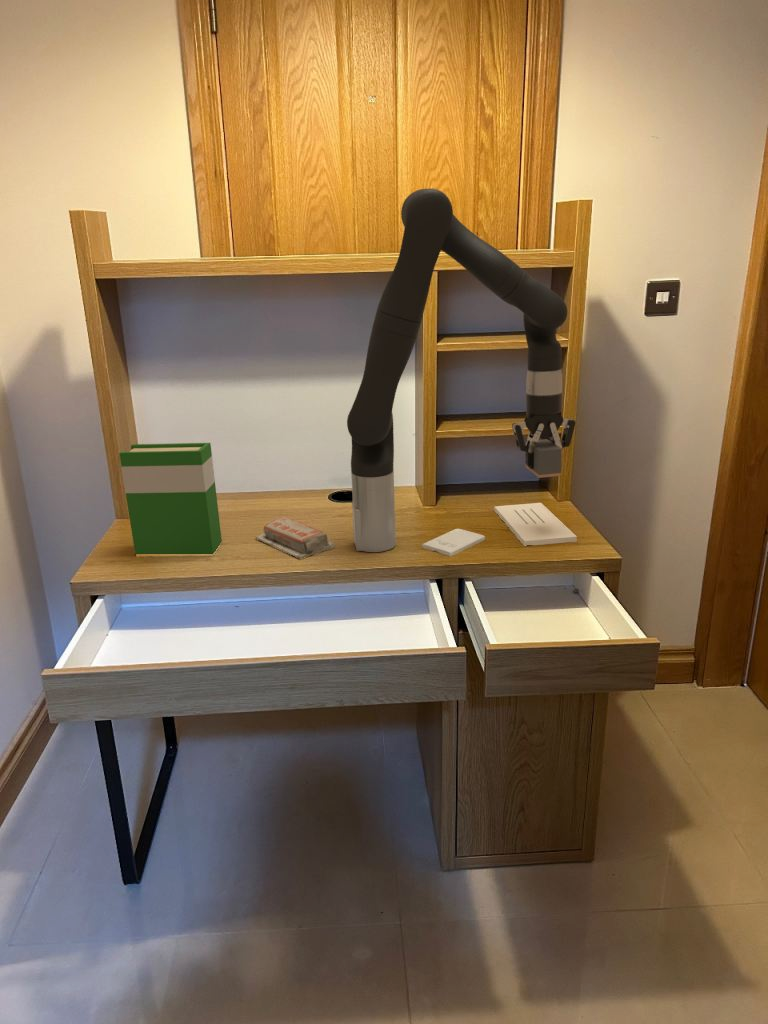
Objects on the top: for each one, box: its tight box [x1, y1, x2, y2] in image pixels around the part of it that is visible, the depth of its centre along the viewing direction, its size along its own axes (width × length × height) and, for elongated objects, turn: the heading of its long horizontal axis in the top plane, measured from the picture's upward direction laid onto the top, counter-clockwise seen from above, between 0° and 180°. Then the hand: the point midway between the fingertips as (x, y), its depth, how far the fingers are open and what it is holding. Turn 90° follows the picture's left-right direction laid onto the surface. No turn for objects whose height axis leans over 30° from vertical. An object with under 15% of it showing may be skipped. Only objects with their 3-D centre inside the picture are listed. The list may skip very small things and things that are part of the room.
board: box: [493, 502, 578, 547], centre depth 177 cm, size 12×24×1 cm, turn 8°
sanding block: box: [524, 438, 563, 479], centre depth 166 cm, size 9×5×6 cm, turn 9°
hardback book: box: [119, 442, 223, 555], centre depth 167 cm, size 18×7×24 cm, turn 87°
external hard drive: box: [421, 528, 486, 557], centre depth 168 cm, size 2×8×12 cm
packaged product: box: [255, 516, 335, 560], centre depth 171 cm, size 18×5×10 cm
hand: (543, 466), depth 166 cm, fingers closed on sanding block, 5 cm apart
